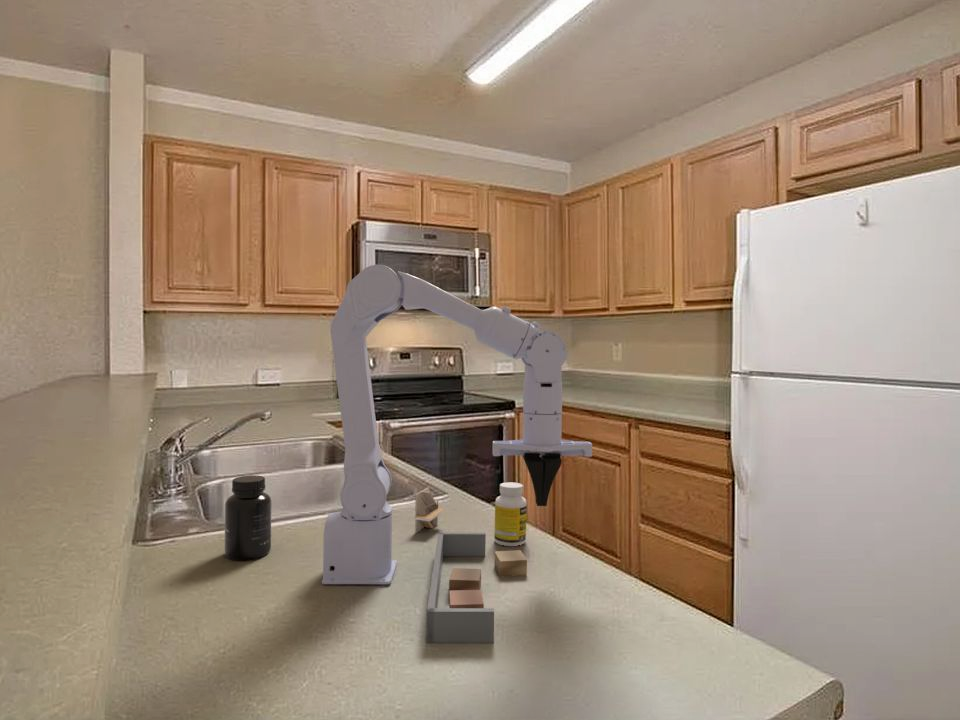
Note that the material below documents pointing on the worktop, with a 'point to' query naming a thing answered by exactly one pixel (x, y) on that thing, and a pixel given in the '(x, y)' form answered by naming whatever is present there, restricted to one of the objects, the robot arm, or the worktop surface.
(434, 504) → the architectural model
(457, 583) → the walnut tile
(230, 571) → the worktop surface
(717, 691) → the worktop surface
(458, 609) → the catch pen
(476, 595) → the cherry tile
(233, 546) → the supplement bottle
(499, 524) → the supplement bottle
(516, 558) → the oak tile
